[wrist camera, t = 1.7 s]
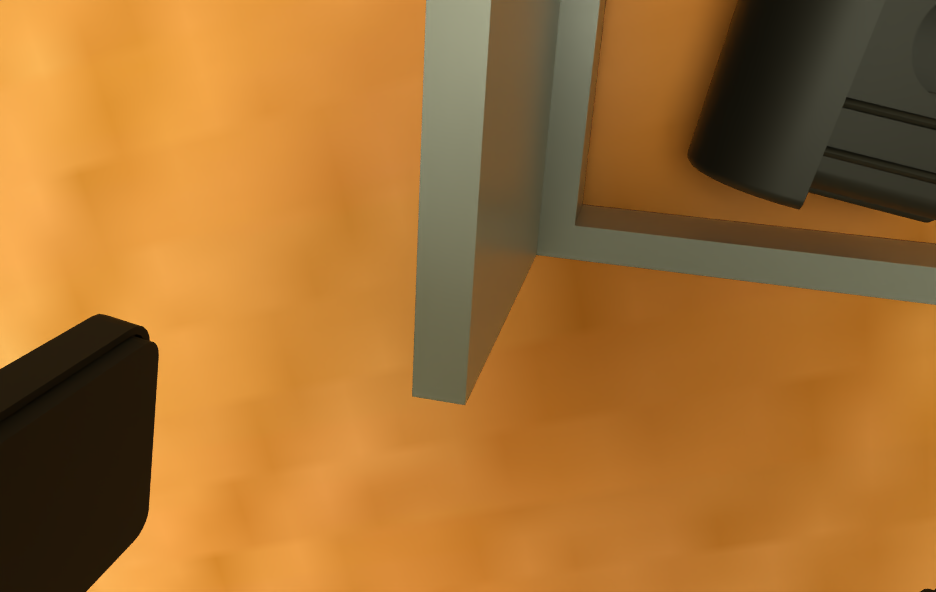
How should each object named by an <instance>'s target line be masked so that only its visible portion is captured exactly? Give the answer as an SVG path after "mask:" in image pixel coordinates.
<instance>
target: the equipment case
mask: <svg viewBox="0 0 936 592" xmlns="http://www.w3.org/2000/svg"><path fill="white" fill-rule="evenodd" d="M605 4H606V0H426V23H425V51H424V79H423V107H422V135H421V164H420V192H419V220H418V248H417V276H416V304H415V332H414V360H413V388H412V396H413V397H419V398H425V399H431V400H437V401H443V402H450V403H456V404H462V405H465V404H466V402H467V400H468V398H469V396H470V394H471V392H472V390H473V388H474V385H475V383H476V381H477V379H478V377H479V375H480V373H481V371H482V369H483V366H484V364H485V362H486V360H487V358H488V356H489V354H490V352H491V350H492V347H493V345H494V343H495V341H496V339H497V337H498V335H499V333H500V331H501V328H502V326H503V324H504V322H505V320H506V318H507V316H508V314H509V312H510V310H511V307H512V305H513V303H514V301H515V299H516V297H517V295H518V293H519V291H520V288H521V286H522V284H523V282H524V280H525V278H526V276H527V274H528V272H529V269H530V267H531V265H532V263H533V261H534V259H535V257H536V255H542V256H550V257H558V258H566V259H574V260H582V261H590V262H598V263H606V264H614V265H622V266H630V267H638V268H646V269H654V270H662V271H670V272H678V273H686V274H694V275H702V276H710V277H718V278H726V279H734V280H742V281H750V282H758V283H766V284H774V285H782V286H790V287H798V288H806V289H814V290H822V291H830V292H838V293H846V294H854V295H862V296H870V297H878V298H886V299H894V300H902V301H910V302H918V303H926V304H934V305H936V244H932V243H923V242H914V241H905V240H896V239H887V238H878V237H869V236H860V235H851V234H842V233H833V232H824V231H815V230H806V229H797V228H788V227H779V226H771V225H762V224H753V223H744V222H735V221H726V220H717V219H708V218H699V217H690V216H681V215H672V214H663V213H654V212H645V211H636V210H627V209H618V208H609V207H600V206H591V205H582V204H583V195H584V186H585V178H586V169H587V160H588V152H589V143H590V134H591V125H592V117H593V108H594V99H595V91H596V82H597V73H598V65H599V56H600V47H601V38H602V30H603V21H604V12H605Z"/></svg>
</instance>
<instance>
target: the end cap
mask: <svg viewBox="0 0 936 592" xmlns="http://www.w3.org/2000/svg"><path fill="white" fill-rule="evenodd" d="M687 155H688V159H689V161H690V162H691V164H692V165H693V166H694V167H695V168H697V169H698V170H699V171H700V172H702V173H704V174H705V175H707V176H709V177H711V178H713V179H715V180H717V181H719V182H721V183H723V184H725V185H728V186H730V187H733V188H735V189H738V190H740V191H743V192H745V193H748V194H751V195H754V196H756V197H759V198H762V199H766V200H769V201H772V202H775V203H778V204H781V205H785V206H789V207H792V208H796V209H800V208H801V207H802V205H803V203H804V201H805V199H806V196H807V194H808V192H810V193H814V194H818V195H821V196H825V197H829V198H833V199H837V200H841V201H844V202H848V203H852V204H856V205H860V206H864V207H867V208H871V209H875V210H879V211H883V212H887V213H891V214H894V215H898V216H902V217H906V218H910V219H914V220H917V221H921V222H931V221H934V220H936V0H738V3H737V6H736V9H735V12H734V15H733V18H732V21H731V24H730V27H729V30H728V33H727V36H726V39H725V42H724V45H723V48H722V51H721V54H720V57H719V60H718V63H717V66H716V69H715V72H714V75H713V78H712V81H711V84H710V87H709V90H708V93H707V96H706V99H705V102H704V105H703V108H702V111H701V114H700V117H699V120H698V123H697V126H696V129H695V132H694V135H693V138H692V141H691V144H690V147H689V150H688V154H687Z"/></svg>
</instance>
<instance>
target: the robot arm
mask: <svg viewBox="0 0 936 592" xmlns="http://www.w3.org/2000/svg"><path fill="white" fill-rule="evenodd" d="M158 358H159V353H158V347H157V345H156V344H155V343H154V342H151V341H150V339H149V334H148V332H147V330H146V329H145V328H144V327H142V326H139V325H136V324H133V323H130V322H126V321H123V320H120V319H117V318H114V317H111V316H107V315H103V314H97V315H95V316H92V317H90V318H89V319H87V320H85V321H83V322H82V323H80V324H78V325H76V326H75V327H73V328H71V329H69V330H68V331H66V332H64V333H62V334H61V335H59V336H57V337H55V338H54V339H52V340H50V341H48V342H47V343H45V344H43V345H42V346H40V347H38V348H36V349H35V350H33V351H31V352H29V353H28V354H26V355H24V356H22V357H21V358H19V359H17V360H15V361H14V362H12V363H10V364H8V365H7V366H5V367H3V368H1V369H0V592H86V591H87V590H88V589H89V588H90V587H91V586H92V585H93V584H94V583H95V582H96V581H97V580H98V579H99V577H100V576H101V575H102V574H103V573H104V572H105V571H106V570H107V569H108V568H109V567H110V566H111V565H112V564H113V563H114V562H115V561H116V560H117V558H118V557H119V556H120V555H121V554H122V553H123V552H124V551H125V550H126V549H127V548H128V547H129V546H130V545H131V544H132V543H133V542H134V540H135V539H136V538H137V537H138V535H139V534H140V532H141V530H142V529H143V526H144V524H145V522H146V519H147V516H148V510H149V497H150V481H151V466H152V450H153V435H154V420H155V404H156V389H157V373H158ZM920 592H936V589H935V590H932V589H924V590H922V591H920Z"/></svg>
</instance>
